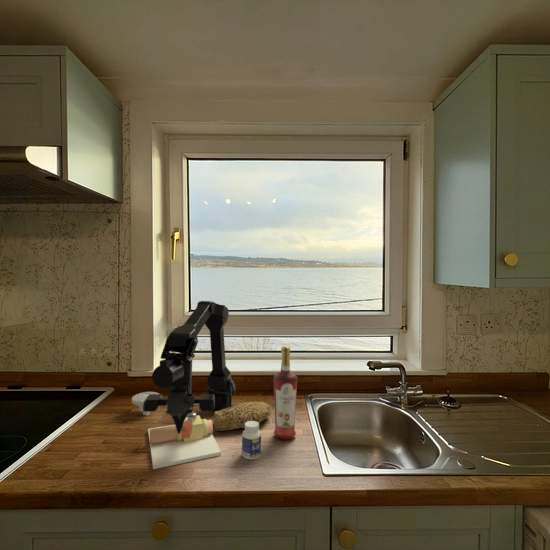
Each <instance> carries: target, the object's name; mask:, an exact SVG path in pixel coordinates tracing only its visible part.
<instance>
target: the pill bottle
mask: <svg viewBox="0 0 550 550" xmlns="http://www.w3.org/2000/svg"><path fill="white" fill-rule="evenodd" d="M241 438H242V439H241V442H242V444H241V455H242V457H243V459H246V460H250V461H251V460H257V459H258V458H260V457H261V454H262V453H261V451H262V432H261V430H260V423H258V422H256V421H248V422H246V423H245V428H244V430H243V431H242V435H241Z"/></svg>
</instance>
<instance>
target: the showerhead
mask: <svg viewBox="0 0 550 550" xmlns="http://www.w3.org/2000/svg"><path fill="white" fill-rule="evenodd" d="M149 394H160V393H158V392H155V391H144V392H140V393H139V392H138V393H137V394H134V395H133V396H132V397H131V403H132V404H133V405H135V406H138V410H139V411H140V412H142V415H143V416H149V415H150V411H143V404H144V401H145V399H146V398H147V396H148V395H149Z"/></svg>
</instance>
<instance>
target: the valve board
mask: <svg viewBox="0 0 550 550" xmlns="http://www.w3.org/2000/svg"><path fill="white" fill-rule="evenodd" d="M186 422H187V416H186V418H185V420H184V423H186ZM184 423H183V426H184ZM183 426H182V429H183ZM182 429H181V432H180V434H178V432H177V429H176V426H175V424H169V425H165V426H164V425H163V426H158V427H150V428H148V429H147V433H148V434H147V435H148V440H149V441H148V442H149V447H150V455H151V462H152V463H151V464H152V470H156V469H161V468H166V467H170V466H171V467H172V466H177V465H180V464H181V465H182V464H186V463H190V462H195V461H200V460H205V459H209V458H213V457H214V458H215V457H220V456H222V451H221V449H220V447H219V445H218V443H217V441H216V439H215V437H214V435H213V432H214V423H213V420H212V419H206V418H201V416H200V415H199V414H198V415H196V419H195V420H194V421H193V429H192V433H191V436H190V438H182Z"/></svg>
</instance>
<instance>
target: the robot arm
mask: <svg viewBox="0 0 550 550" xmlns="http://www.w3.org/2000/svg"><path fill="white" fill-rule="evenodd" d="M196 305H197V306H196V307H195V309H194V310H193V312H192V313H191V314H190V316H189V317H188V318H187V320H186V321H185V322H184V324H182V325H180V326H177V327H175V328H174V329H173V330H172V331H171V332H169V334H168V336H167V338H166V341H165V343H164V345H163V349H162V351H161V354H160V359H162V360H159V365H158V366H157V367H156V368H154V370H153V371H152V374H151V375H152V376H151V378H152V381H153V383H154V385H155V386H156V388H157V387H158V388H159V389H162V390H163V389H164V390H165V389H167V388H169V391H168V394H167V398H166V397H165V398H163V394H162V393H159V394H149V395H148V396H147V398H146V399H145V401H144V404H143V411H149V412H156V410H158V409H159V407H166V410H165V414H166V415H169V416H171V418H172V419H173V422H174V425H175V426H176V429H177V432H178V434H180V432H181V429H182V426H183V423H184V420H185V418H186V417H187V415H188V414H190V413H192V412H194V407H195V406H198V409H199V410H201V411H202V412H209V411H210V412H211V411H213V413H214V412H216V411H220V410H222V409H225V408H228V407H230V408H232V396H234V395H236V384H235V381H234V380H233V379H232V373H231V371H230V370H229V368H228V367H227V364H226V351H225V349H226V348H225V335H224V334H225V331H224V328H225V326H226V324H227V322H228V320H229V308H228V307H227V306H226V305H224V304H219V303H216V302H214V301H212V300H211V301H210V300H200V301H198V302H197V304H196ZM204 325H205V327H206V328H207V329H208V331H209V340H210V353H211V355H210V357H211V368H212V370H211V371H210V373H209V375H208V376H207V389H208V391H207V392H208V393H201V394H200V397H198V398H195V393H192V385H193V384H192V382H193V381H192V380H193V379H192V378H193V376H192V375H193V359H194V358H195V353H194V352H195V351H196V348H197V346H198V343H199V340H198V335H199V333H200V332H201V330H202V329H203V327H204ZM143 411H142V412H143Z"/></svg>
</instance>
